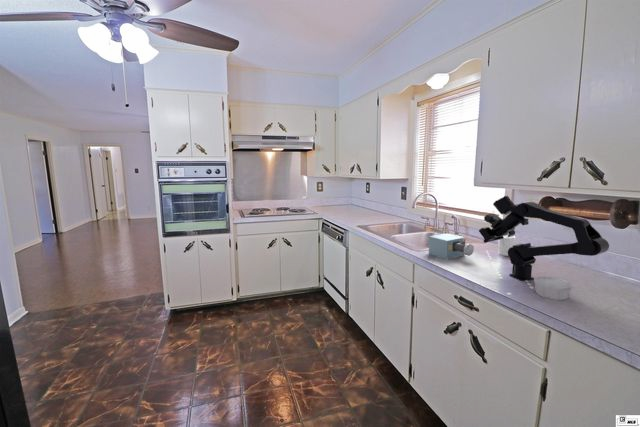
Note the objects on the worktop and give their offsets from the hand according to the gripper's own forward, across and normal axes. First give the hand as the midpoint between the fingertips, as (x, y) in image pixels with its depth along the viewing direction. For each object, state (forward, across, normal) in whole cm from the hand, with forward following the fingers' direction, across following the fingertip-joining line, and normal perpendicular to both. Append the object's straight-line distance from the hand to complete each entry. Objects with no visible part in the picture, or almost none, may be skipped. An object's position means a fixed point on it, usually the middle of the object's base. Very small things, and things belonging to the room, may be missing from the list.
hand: (484, 241), depth 140 cm
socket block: (+24, 0, -7) cm, 25 cm away
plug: (+17, 0, -4) cm, 17 cm away
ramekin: (-15, +8, +32) cm, 36 cm away
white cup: (+13, -27, +4) cm, 30 cm away
